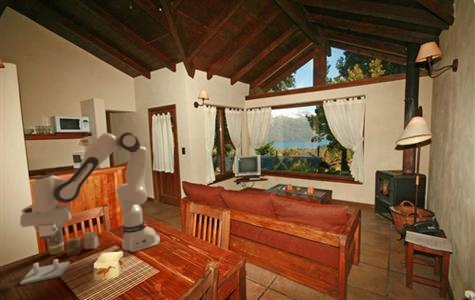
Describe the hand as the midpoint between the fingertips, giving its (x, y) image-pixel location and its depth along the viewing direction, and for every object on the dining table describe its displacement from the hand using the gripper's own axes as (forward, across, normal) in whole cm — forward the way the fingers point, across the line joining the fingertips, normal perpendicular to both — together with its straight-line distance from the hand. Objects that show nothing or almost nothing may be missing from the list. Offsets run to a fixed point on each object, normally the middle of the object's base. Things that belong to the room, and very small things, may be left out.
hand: (47, 231), depth 111 cm
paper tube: (+20, +3, -18) cm, 27 cm away
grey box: (+20, -15, -16) cm, 30 cm away
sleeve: (+3, 0, 0) cm, 3 cm away
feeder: (+20, -7, -14) cm, 25 cm away
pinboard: (+20, 0, +4) cm, 21 cm away
